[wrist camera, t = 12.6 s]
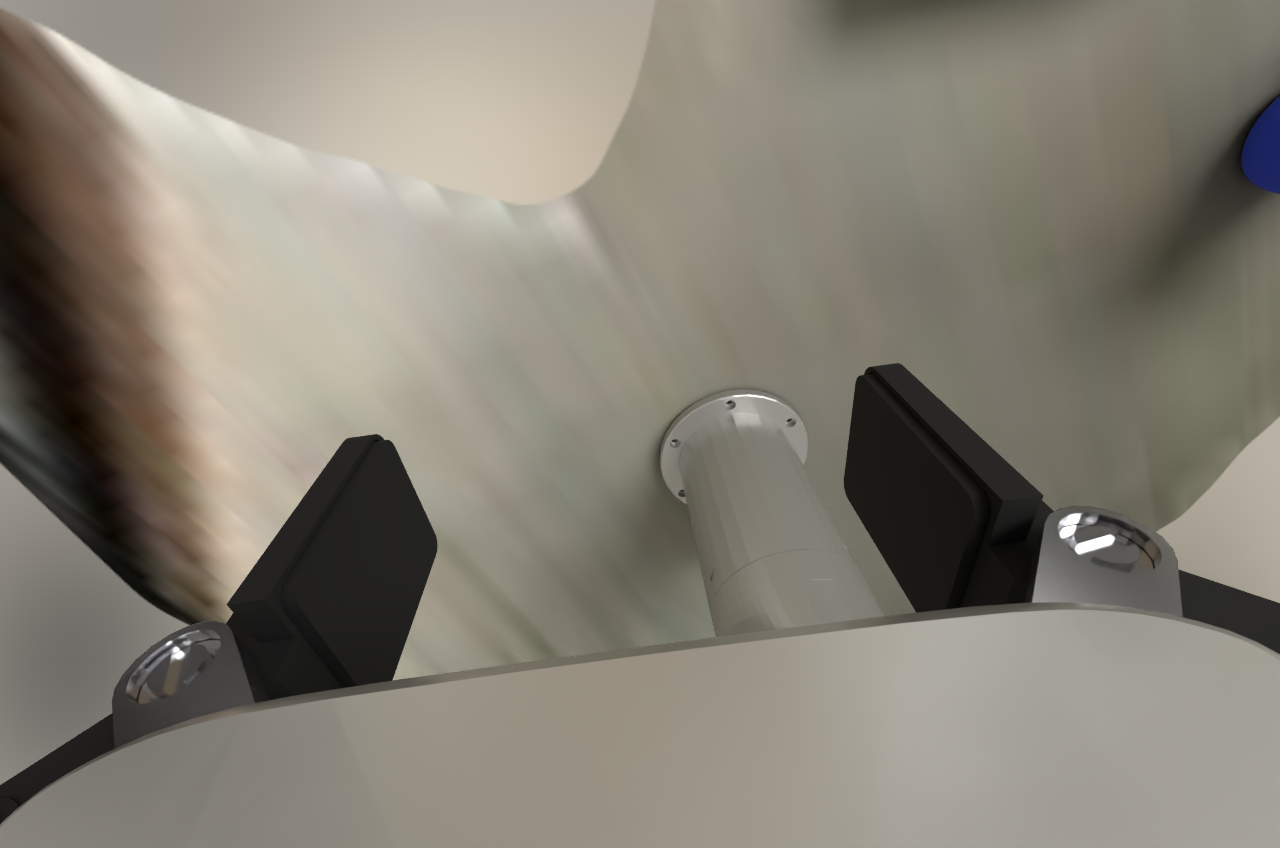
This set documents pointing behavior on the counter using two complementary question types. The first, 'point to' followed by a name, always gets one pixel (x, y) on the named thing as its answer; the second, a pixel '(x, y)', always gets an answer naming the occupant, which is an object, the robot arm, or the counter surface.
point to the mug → (1264, 150)
